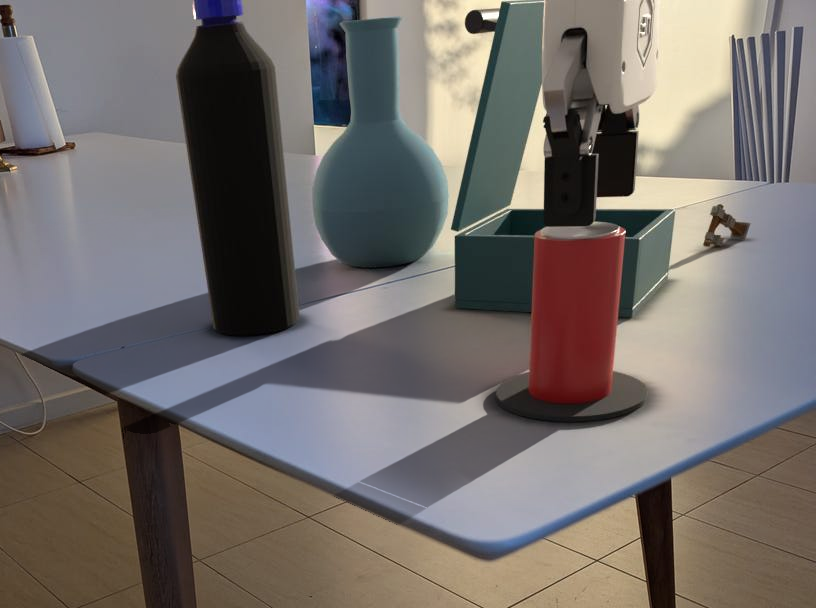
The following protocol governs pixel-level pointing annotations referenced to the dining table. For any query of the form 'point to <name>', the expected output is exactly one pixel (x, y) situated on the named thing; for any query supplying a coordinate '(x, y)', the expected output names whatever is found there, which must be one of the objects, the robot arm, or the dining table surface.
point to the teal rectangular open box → (514, 256)
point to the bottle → (238, 174)
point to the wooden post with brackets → (720, 217)
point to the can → (575, 311)
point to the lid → (501, 108)
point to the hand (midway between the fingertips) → (591, 210)
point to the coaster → (619, 402)
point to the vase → (378, 164)
